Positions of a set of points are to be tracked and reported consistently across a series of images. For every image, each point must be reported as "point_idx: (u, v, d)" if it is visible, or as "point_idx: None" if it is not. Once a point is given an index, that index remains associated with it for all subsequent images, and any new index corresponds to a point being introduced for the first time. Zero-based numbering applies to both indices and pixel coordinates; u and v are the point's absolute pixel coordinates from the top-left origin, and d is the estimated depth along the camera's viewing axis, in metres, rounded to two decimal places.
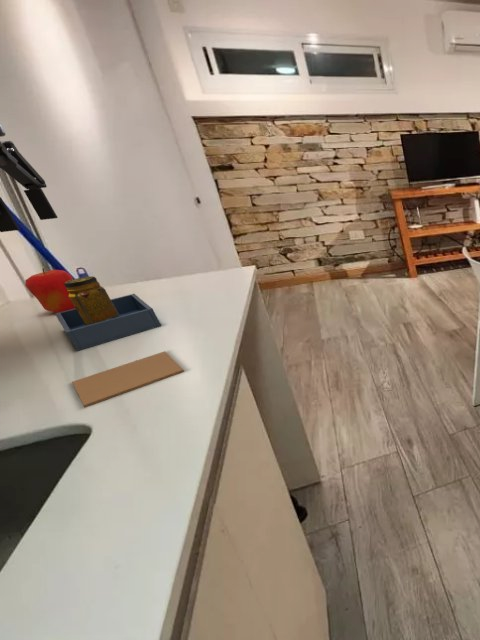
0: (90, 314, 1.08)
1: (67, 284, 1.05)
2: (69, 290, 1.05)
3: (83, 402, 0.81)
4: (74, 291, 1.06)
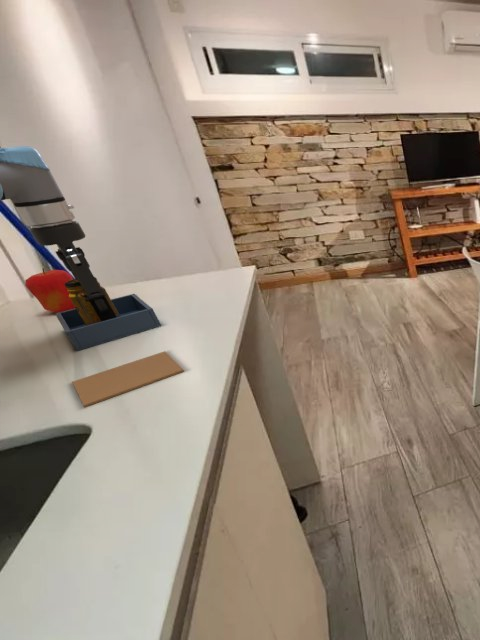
0: (90, 314, 1.08)
1: (67, 284, 1.05)
2: (69, 291, 1.05)
3: (83, 402, 0.81)
4: (74, 292, 1.05)
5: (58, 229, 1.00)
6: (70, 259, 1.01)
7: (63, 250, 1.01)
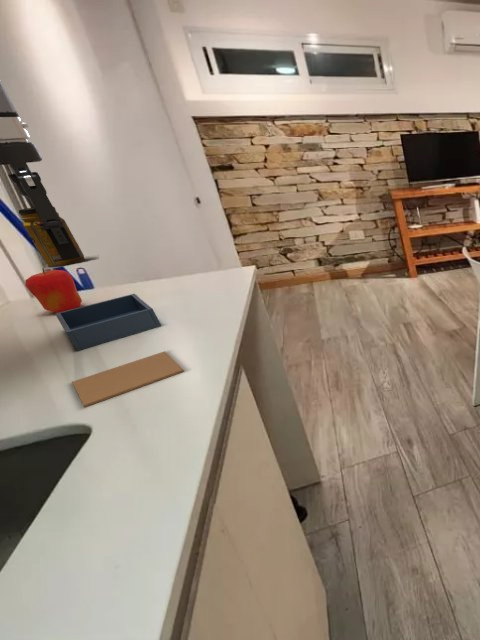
0: (47, 246, 0.98)
1: (21, 211, 0.96)
2: (24, 218, 0.96)
3: (83, 402, 0.81)
4: (29, 220, 0.96)
5: (10, 147, 0.91)
6: (23, 180, 0.92)
7: (16, 171, 0.92)
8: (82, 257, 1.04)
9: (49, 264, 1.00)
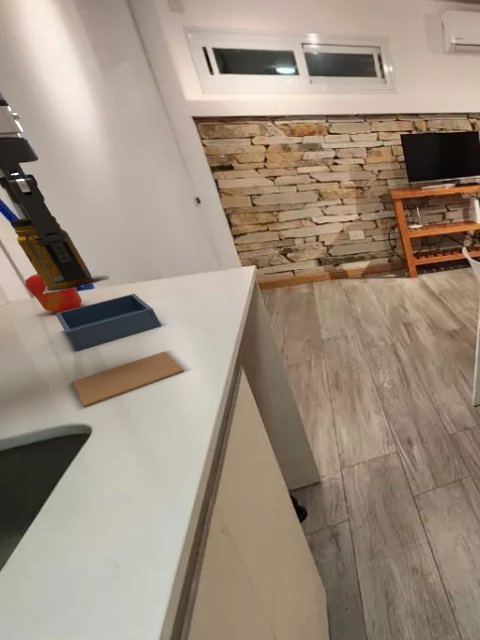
0: (46, 265, 0.81)
1: (14, 223, 0.78)
2: (17, 232, 0.78)
3: (83, 402, 0.81)
4: (24, 233, 0.78)
5: None
6: (15, 185, 0.73)
7: (6, 173, 0.74)
8: (89, 277, 0.86)
9: (49, 287, 0.82)
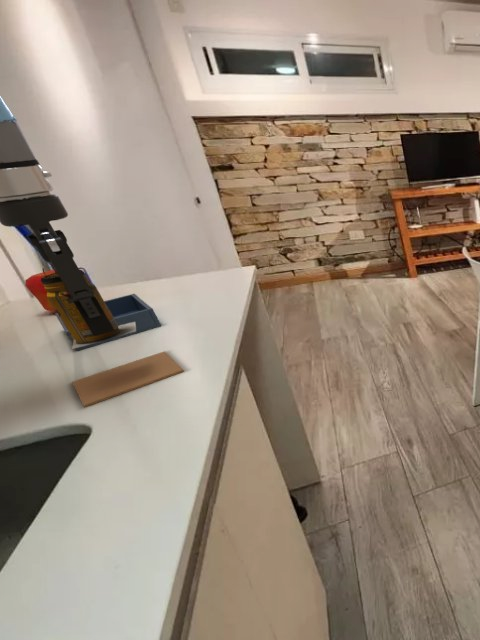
0: (75, 320, 0.80)
1: (44, 280, 0.78)
2: (47, 288, 0.78)
3: (83, 402, 0.81)
4: (54, 290, 0.78)
5: (30, 204, 0.73)
6: (46, 245, 0.73)
7: (36, 233, 0.74)
8: (116, 329, 0.85)
9: (78, 340, 0.82)
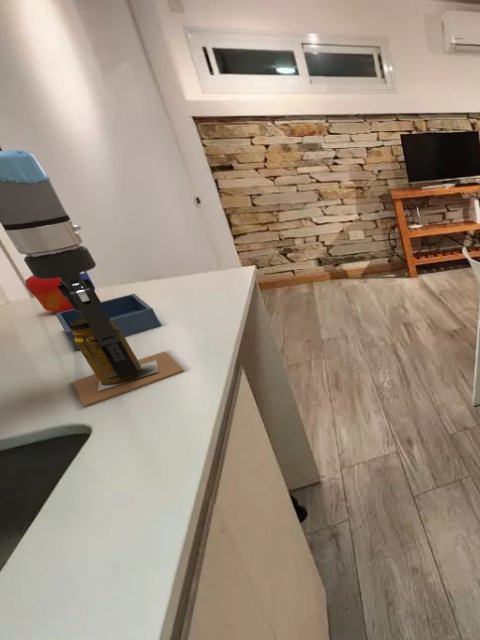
0: (101, 363, 0.84)
1: (73, 326, 0.81)
2: (75, 334, 0.82)
3: (83, 402, 0.81)
4: (82, 335, 0.82)
5: (61, 258, 0.77)
6: (76, 296, 0.77)
7: (67, 285, 0.78)
8: (139, 369, 0.89)
9: (103, 382, 0.86)
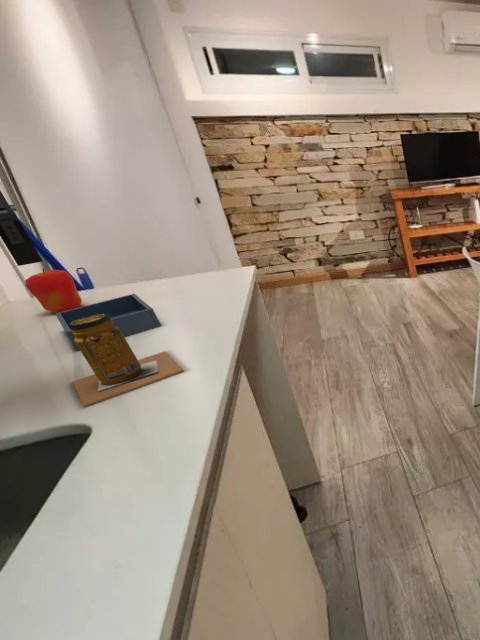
0: (101, 363, 0.84)
1: (73, 326, 0.81)
2: (75, 334, 0.82)
3: (83, 402, 0.81)
4: (81, 335, 0.82)
5: None
6: None
7: None
8: (139, 369, 0.89)
9: (103, 382, 0.86)
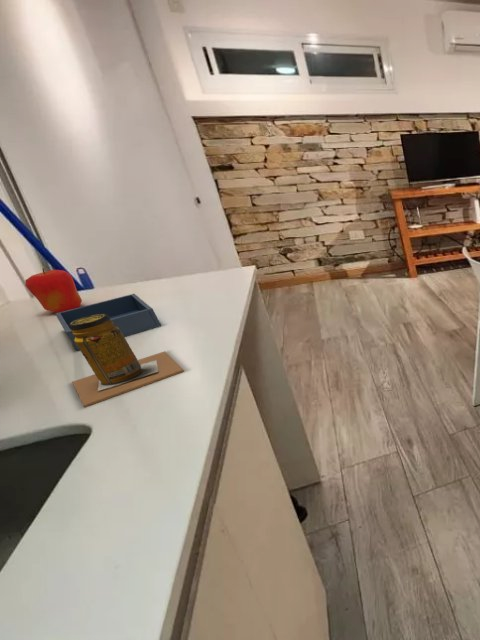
0: (101, 363, 0.84)
1: (73, 326, 0.81)
2: (75, 334, 0.82)
3: (83, 402, 0.81)
4: (81, 335, 0.82)
5: None
6: None
7: None
8: (139, 369, 0.89)
9: (103, 382, 0.86)
